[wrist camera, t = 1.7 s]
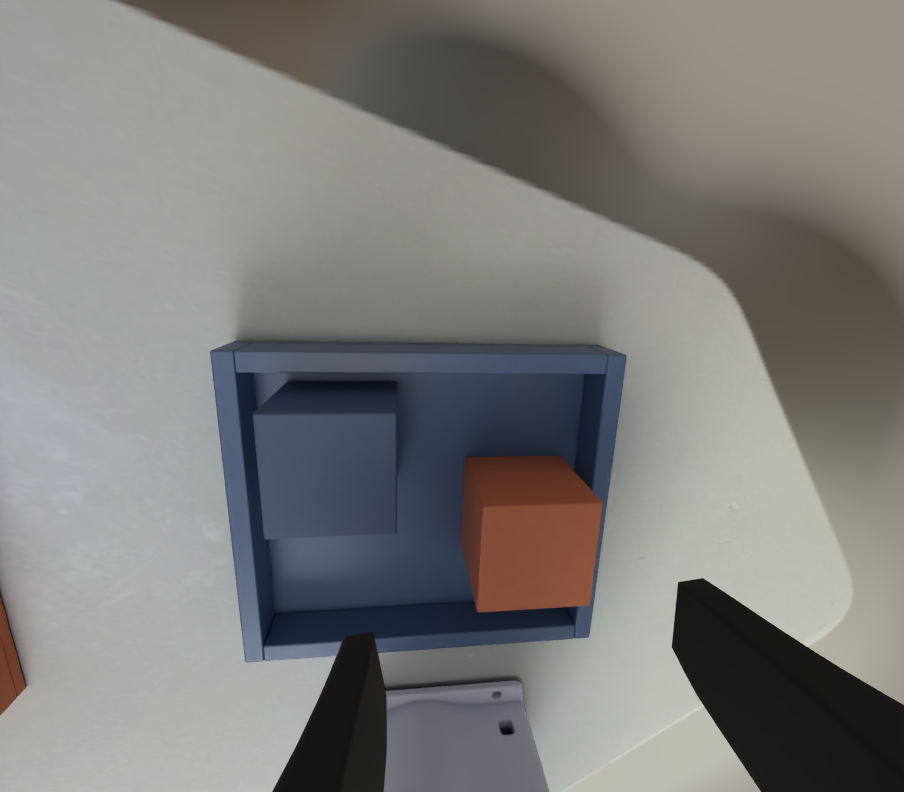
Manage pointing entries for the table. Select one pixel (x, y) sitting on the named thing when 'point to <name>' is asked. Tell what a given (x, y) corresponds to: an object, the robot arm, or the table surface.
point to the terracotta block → (528, 533)
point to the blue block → (328, 459)
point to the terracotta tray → (8, 665)
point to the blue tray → (410, 489)
